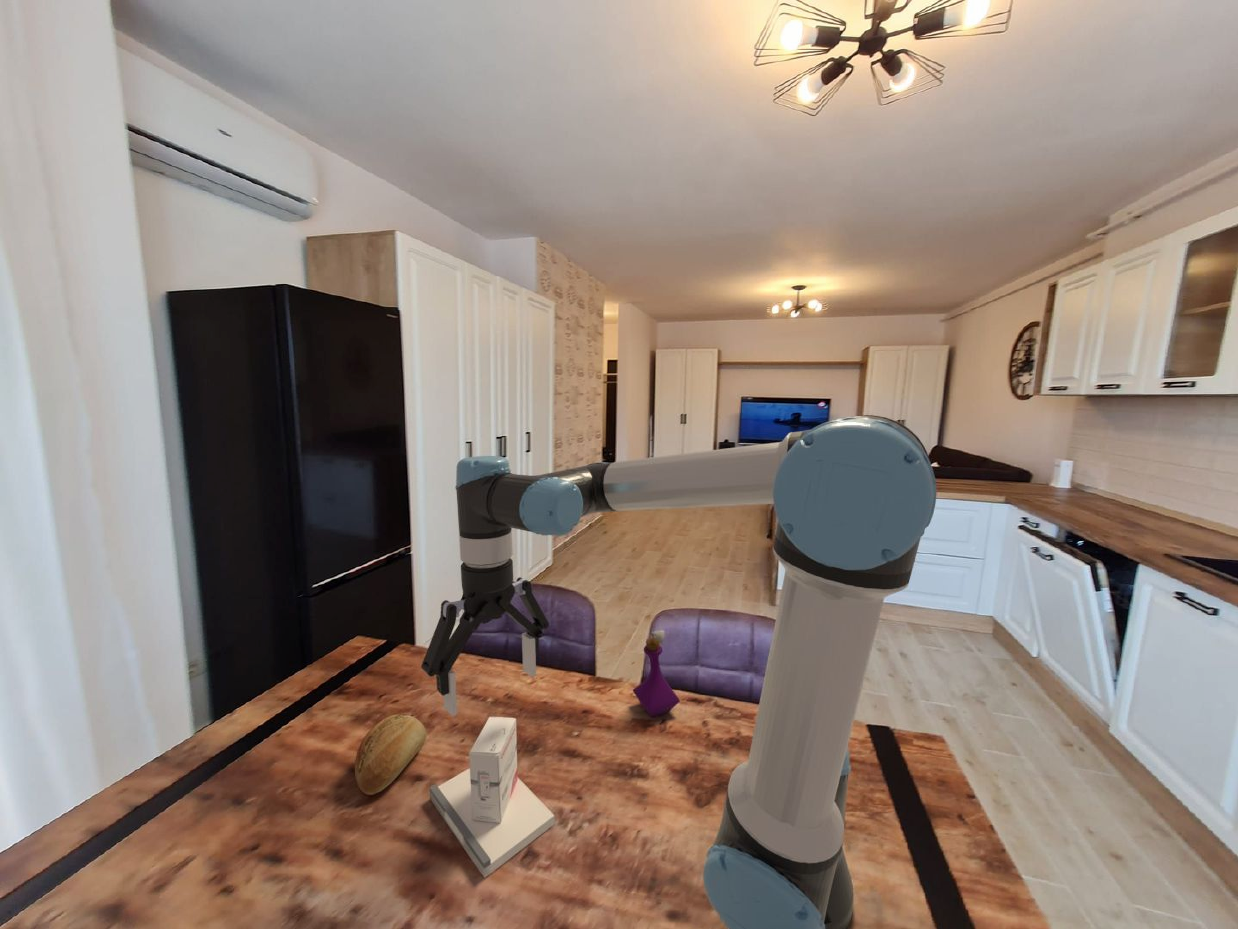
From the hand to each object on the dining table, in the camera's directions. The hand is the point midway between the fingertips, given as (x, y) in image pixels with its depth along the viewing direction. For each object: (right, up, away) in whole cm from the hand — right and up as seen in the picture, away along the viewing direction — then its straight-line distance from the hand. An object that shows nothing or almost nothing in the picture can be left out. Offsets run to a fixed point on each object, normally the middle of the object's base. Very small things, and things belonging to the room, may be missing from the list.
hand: (492, 691), depth 73 cm
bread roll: (-21, -19, +12) cm, 31 cm away
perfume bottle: (+27, -17, +27) cm, 42 cm away
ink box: (0, -19, +3) cm, 19 cm away
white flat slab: (-1, -21, +2) cm, 21 cm away
